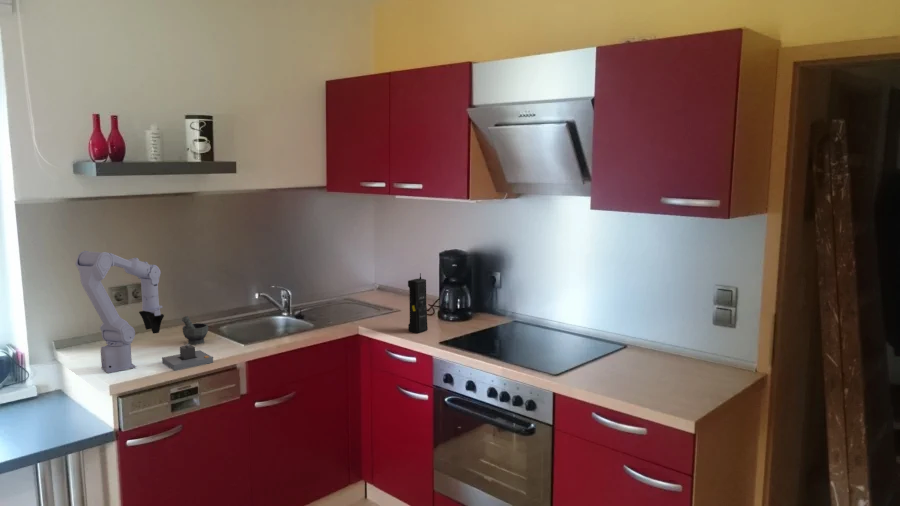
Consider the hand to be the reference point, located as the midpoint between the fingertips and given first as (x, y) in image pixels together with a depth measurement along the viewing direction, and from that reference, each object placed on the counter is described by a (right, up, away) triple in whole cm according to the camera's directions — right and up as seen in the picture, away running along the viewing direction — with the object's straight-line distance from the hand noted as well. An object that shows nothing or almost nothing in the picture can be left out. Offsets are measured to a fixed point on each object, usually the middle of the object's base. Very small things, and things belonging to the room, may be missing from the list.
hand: (152, 331), depth 249 cm
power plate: (+17, -11, -8) cm, 21 cm away
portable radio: (+99, -5, +37) cm, 105 cm away
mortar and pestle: (+9, -7, +18) cm, 21 cm away
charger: (+17, -11, -8) cm, 21 cm away
